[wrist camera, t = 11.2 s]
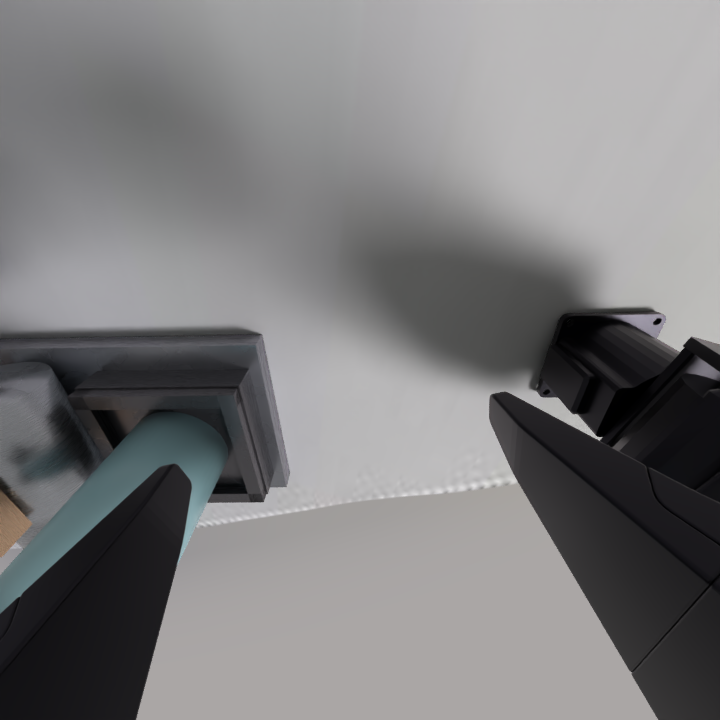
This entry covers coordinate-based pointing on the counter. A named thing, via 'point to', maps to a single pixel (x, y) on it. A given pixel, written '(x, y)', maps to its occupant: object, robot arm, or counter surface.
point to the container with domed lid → (124, 490)
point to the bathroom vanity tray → (127, 414)
